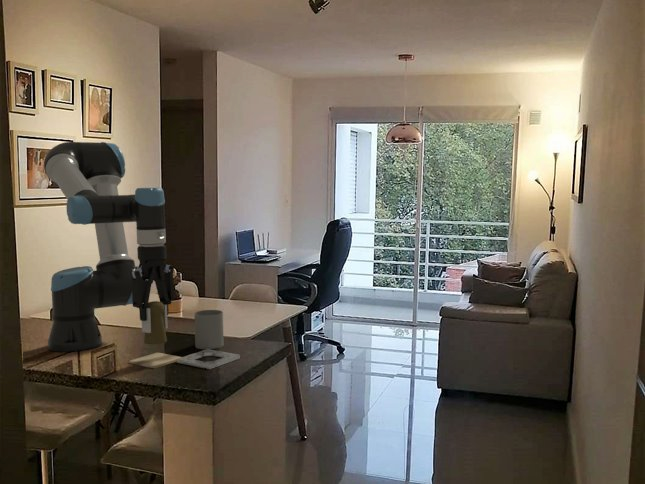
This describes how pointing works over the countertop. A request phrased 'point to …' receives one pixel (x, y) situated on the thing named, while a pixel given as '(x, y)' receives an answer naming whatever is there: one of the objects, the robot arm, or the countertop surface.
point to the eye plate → (210, 364)
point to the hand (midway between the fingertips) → (155, 329)
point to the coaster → (155, 360)
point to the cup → (209, 329)
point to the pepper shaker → (156, 324)
